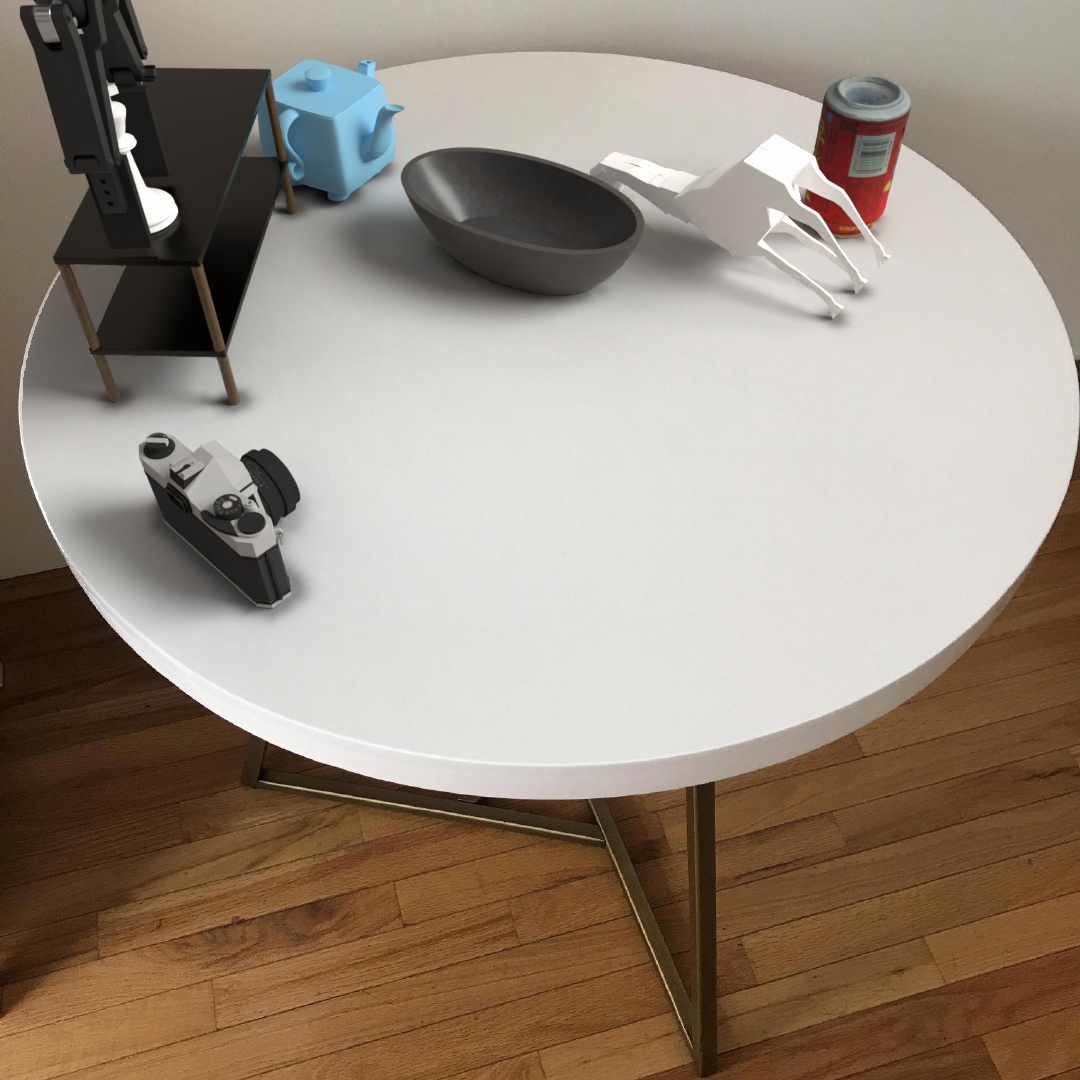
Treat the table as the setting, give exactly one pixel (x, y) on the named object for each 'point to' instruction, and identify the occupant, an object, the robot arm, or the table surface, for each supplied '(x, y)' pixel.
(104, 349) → the rack
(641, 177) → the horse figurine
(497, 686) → the table surface
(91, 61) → the robot arm
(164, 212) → the chess piece
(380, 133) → the teapot
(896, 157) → the soda can
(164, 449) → the camera
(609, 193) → the bowl
